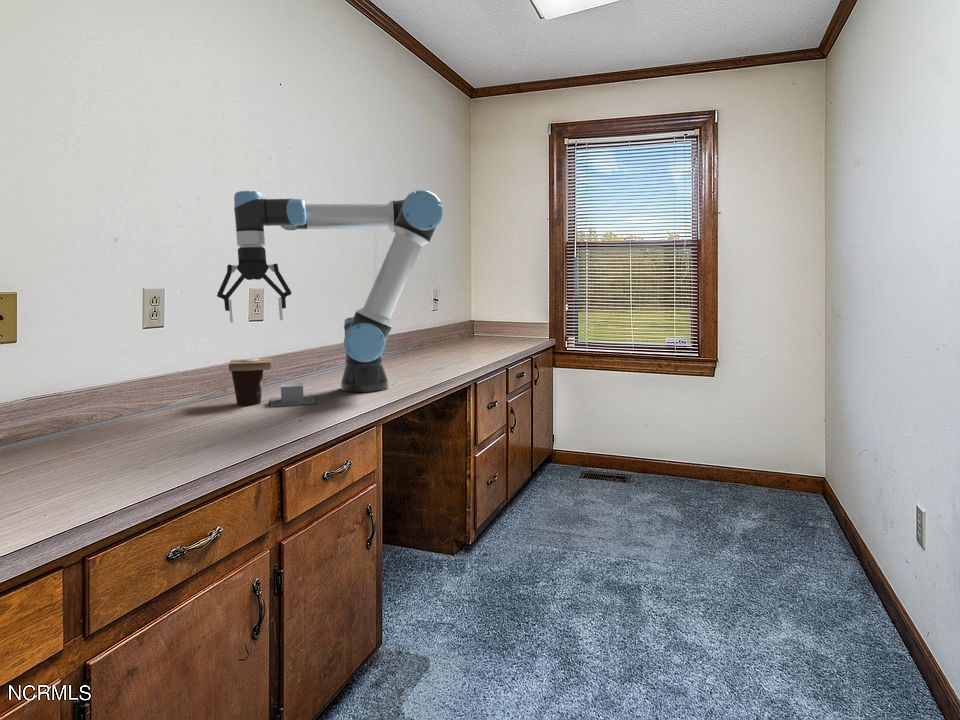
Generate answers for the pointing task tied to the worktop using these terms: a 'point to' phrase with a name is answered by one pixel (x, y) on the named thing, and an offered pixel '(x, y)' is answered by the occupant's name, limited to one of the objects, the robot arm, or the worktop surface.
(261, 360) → the lid
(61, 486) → the worktop surface
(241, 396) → the coffee mug
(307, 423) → the worktop surface
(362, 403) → the worktop surface
